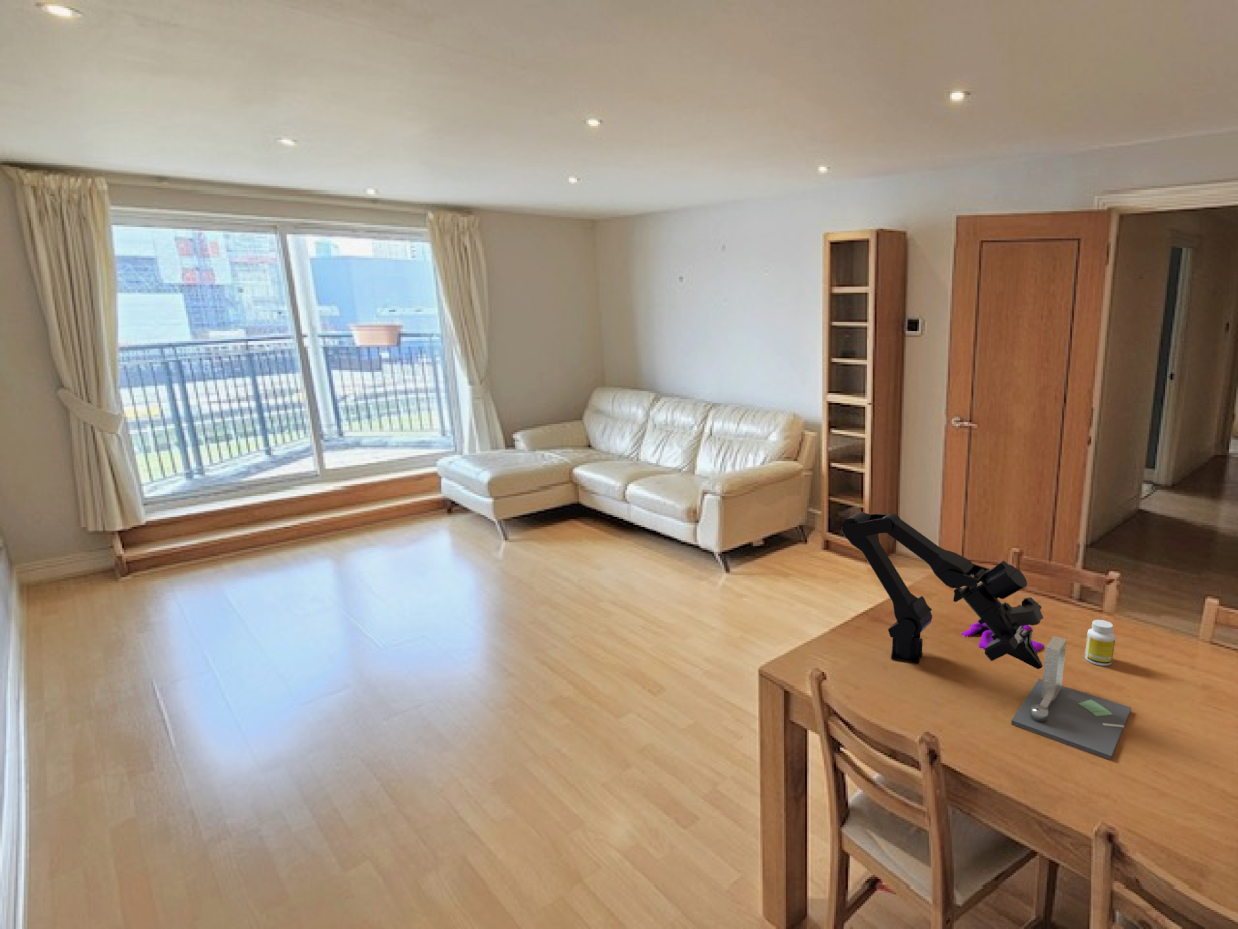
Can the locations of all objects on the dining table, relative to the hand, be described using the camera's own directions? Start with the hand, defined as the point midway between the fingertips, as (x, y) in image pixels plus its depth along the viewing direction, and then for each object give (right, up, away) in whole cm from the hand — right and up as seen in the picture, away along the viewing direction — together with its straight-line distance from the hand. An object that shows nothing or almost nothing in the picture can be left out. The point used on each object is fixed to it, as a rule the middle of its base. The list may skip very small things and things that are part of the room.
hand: (1040, 667), depth 142 cm
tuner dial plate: (+3, -9, -5) cm, 11 cm away
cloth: (+7, -1, +28) cm, 29 cm away
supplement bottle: (+23, -3, +14) cm, 28 cm away
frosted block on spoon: (0, -7, -2) cm, 7 cm away
